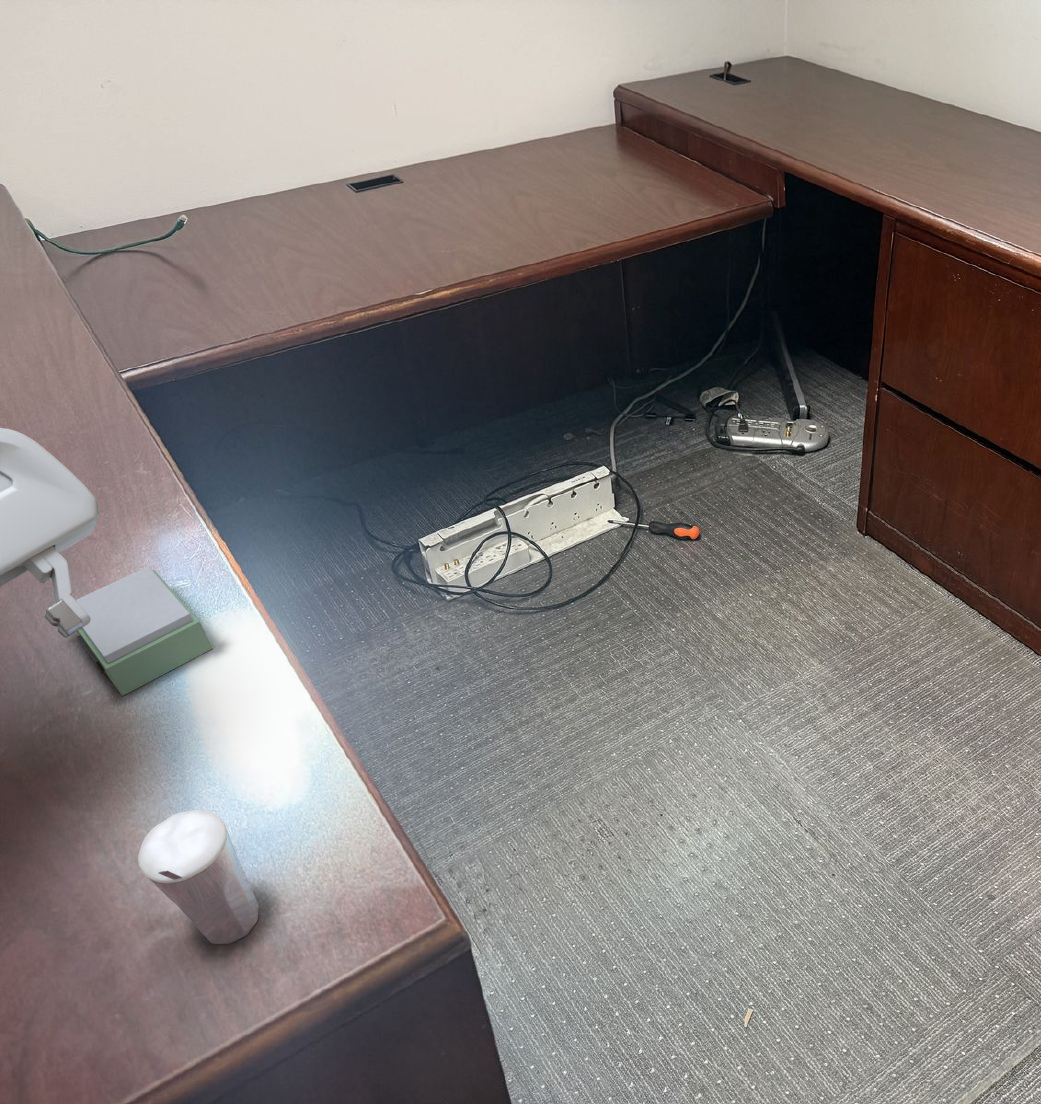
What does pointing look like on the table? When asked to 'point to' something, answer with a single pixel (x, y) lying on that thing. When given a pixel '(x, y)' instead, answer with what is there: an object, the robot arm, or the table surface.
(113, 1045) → the table surface
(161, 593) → the scale
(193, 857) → the milkshake
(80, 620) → the robot arm
